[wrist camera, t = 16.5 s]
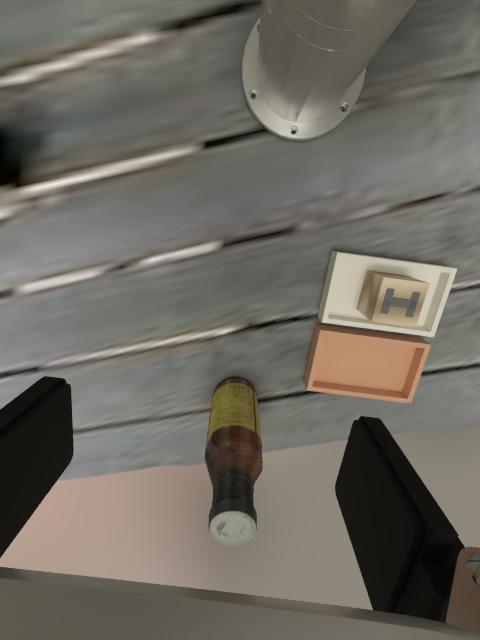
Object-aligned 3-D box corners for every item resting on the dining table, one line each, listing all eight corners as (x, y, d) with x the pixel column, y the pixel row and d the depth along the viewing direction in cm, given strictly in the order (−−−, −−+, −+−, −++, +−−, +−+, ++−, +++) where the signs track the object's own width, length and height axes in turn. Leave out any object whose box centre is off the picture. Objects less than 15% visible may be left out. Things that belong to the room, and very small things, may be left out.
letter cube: (366, 269, 38) (384, 277, 33) (406, 275, 38) (430, 283, 33) (356, 309, 39) (371, 321, 34) (395, 314, 39) (416, 327, 34)
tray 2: (315, 323, 41) (320, 330, 38) (420, 337, 41) (431, 344, 39) (303, 380, 43) (306, 390, 41) (401, 393, 44) (410, 403, 41)
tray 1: (331, 250, 38) (337, 252, 35) (444, 265, 38) (457, 268, 36) (317, 316, 40) (321, 322, 38) (422, 330, 41) (433, 337, 38)
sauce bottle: (204, 390, 44) (173, 517, 25) (240, 367, 43) (235, 483, 24) (231, 422, 46) (221, 565, 27) (267, 401, 44) (282, 535, 26)
